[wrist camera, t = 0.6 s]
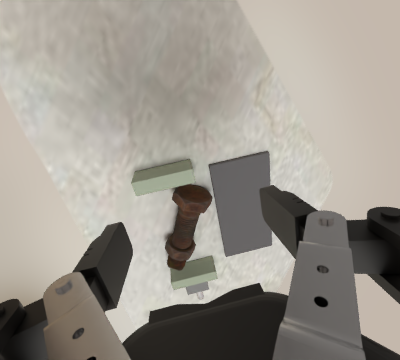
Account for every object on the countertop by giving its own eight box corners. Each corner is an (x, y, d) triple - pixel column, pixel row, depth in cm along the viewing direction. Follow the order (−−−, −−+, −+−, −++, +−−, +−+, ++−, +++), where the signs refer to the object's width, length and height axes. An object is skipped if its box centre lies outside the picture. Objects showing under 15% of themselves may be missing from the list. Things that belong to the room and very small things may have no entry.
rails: (135, 171, 29) (131, 183, 26) (190, 159, 29) (192, 168, 26) (180, 292, 42) (181, 309, 39) (218, 282, 42) (222, 298, 39)
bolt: (171, 248, 39) (186, 179, 32) (195, 259, 38) (216, 191, 31) (154, 270, 34) (168, 194, 27) (181, 284, 33) (202, 209, 26)
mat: (208, 164, 30) (209, 166, 29) (267, 151, 30) (269, 152, 30) (225, 254, 39) (226, 256, 38) (270, 243, 39) (271, 245, 39)
